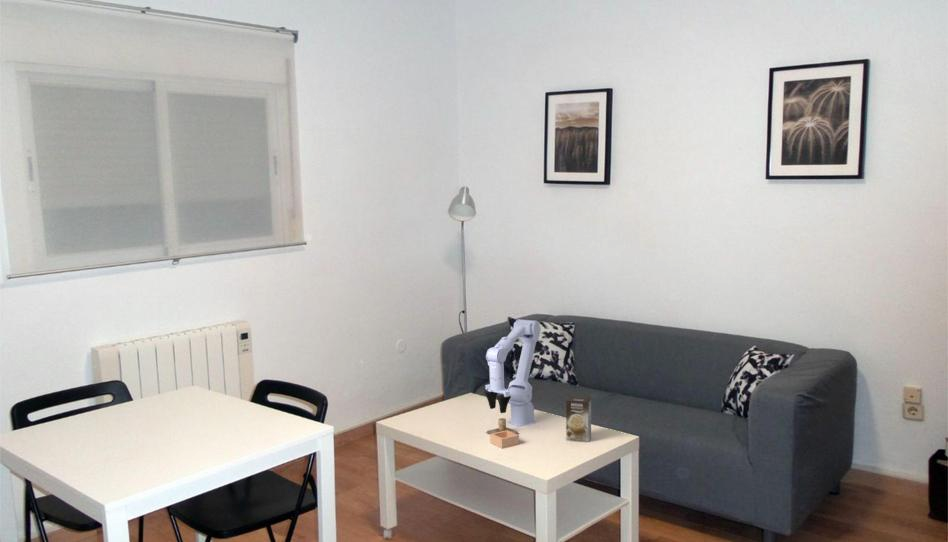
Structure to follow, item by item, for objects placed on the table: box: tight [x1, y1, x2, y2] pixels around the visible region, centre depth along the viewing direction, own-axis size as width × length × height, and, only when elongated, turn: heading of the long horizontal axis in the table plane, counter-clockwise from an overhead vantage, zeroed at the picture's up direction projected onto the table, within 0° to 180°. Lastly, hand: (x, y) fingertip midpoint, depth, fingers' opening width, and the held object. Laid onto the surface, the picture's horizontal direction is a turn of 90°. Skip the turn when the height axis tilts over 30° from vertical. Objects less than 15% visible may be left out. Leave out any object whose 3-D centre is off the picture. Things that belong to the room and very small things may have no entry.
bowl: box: [489, 430, 520, 450], centre depth 296 cm, size 8×8×4 cm
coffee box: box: [565, 396, 592, 443], centre depth 300 cm, size 9×6×16 cm
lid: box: [486, 417, 519, 435], centre depth 309 cm, size 9×9×6 cm
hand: (497, 410), depth 308 cm, fingers open, 7 cm apart
